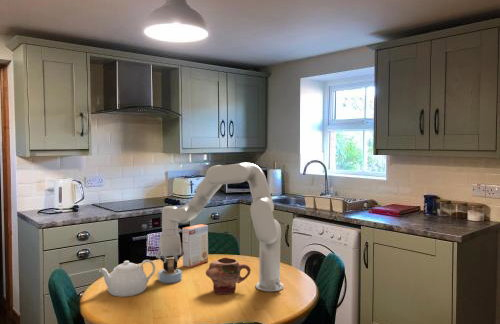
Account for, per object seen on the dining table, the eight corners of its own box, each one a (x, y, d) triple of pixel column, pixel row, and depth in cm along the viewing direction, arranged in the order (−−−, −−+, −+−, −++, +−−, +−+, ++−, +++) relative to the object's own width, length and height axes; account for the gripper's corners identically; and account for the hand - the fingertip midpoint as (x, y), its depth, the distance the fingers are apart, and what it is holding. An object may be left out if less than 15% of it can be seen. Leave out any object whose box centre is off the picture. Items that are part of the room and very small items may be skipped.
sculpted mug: (247, 284, 198) (247, 255, 197) (253, 294, 186) (253, 262, 185) (204, 287, 194) (204, 257, 193) (207, 297, 182) (207, 265, 181)
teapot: (137, 300, 178) (137, 268, 178) (98, 296, 182) (97, 265, 181) (156, 285, 197) (156, 256, 196) (119, 282, 200) (119, 254, 200)
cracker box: (200, 260, 238) (200, 223, 238) (208, 262, 235) (208, 224, 234) (182, 265, 228) (181, 227, 227) (189, 268, 224) (189, 228, 223)
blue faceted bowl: (184, 281, 202) (184, 273, 202) (162, 284, 197) (162, 276, 197) (177, 275, 211) (177, 267, 211) (156, 278, 207) (156, 270, 206)
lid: (178, 275, 203) (178, 260, 202) (165, 276, 200) (165, 261, 199) (174, 271, 209) (174, 256, 208) (161, 273, 206) (161, 258, 205)
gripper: (184, 229, 210) (184, 265, 211) (150, 232, 203) (151, 269, 204) (189, 231, 204) (189, 269, 204) (154, 235, 196) (155, 274, 197)
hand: (170, 269), depth 204 cm, fingers open, 3 cm apart
